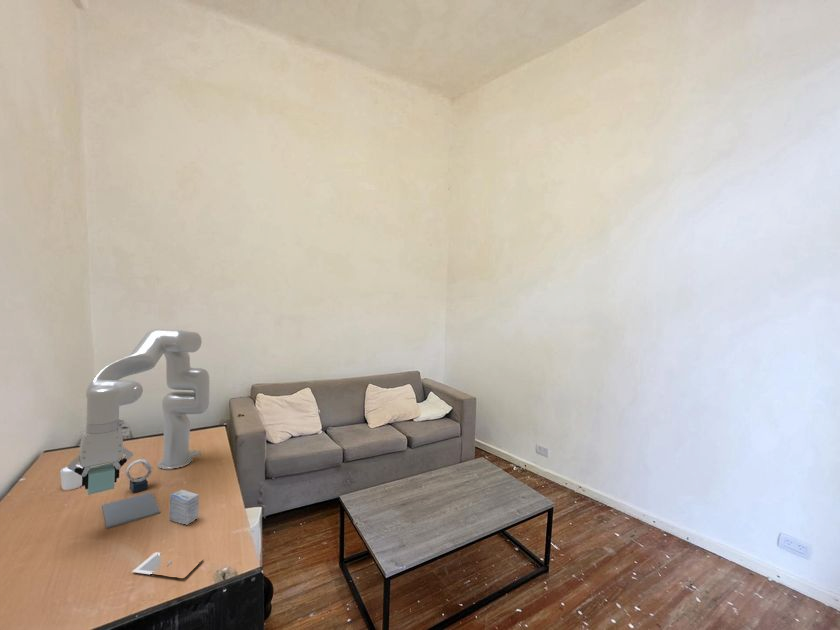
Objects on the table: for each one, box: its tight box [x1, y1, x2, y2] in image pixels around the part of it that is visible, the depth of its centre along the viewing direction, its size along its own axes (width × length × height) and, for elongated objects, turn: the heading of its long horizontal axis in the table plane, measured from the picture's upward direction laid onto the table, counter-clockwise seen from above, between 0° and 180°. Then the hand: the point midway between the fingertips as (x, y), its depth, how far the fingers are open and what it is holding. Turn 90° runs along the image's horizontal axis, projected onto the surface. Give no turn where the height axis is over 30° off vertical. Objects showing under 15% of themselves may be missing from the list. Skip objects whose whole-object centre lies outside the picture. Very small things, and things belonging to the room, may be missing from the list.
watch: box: [125, 458, 153, 494], centre depth 140 cm, size 6×8×11 cm
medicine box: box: [169, 489, 200, 526], centre depth 123 cm, size 8×4×9 cm, turn 71°
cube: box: [86, 462, 115, 496], centre depth 114 cm, size 6×6×6 cm
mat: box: [101, 492, 161, 530], centre depth 127 cm, size 14×16×1 cm
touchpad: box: [131, 551, 178, 575], centre depth 102 cm, size 8×15×2 cm, turn 85°
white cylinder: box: [59, 463, 83, 491], centre depth 139 cm, size 7×7×7 cm
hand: (100, 483), depth 114 cm, fingers closed on cube, 5 cm apart
